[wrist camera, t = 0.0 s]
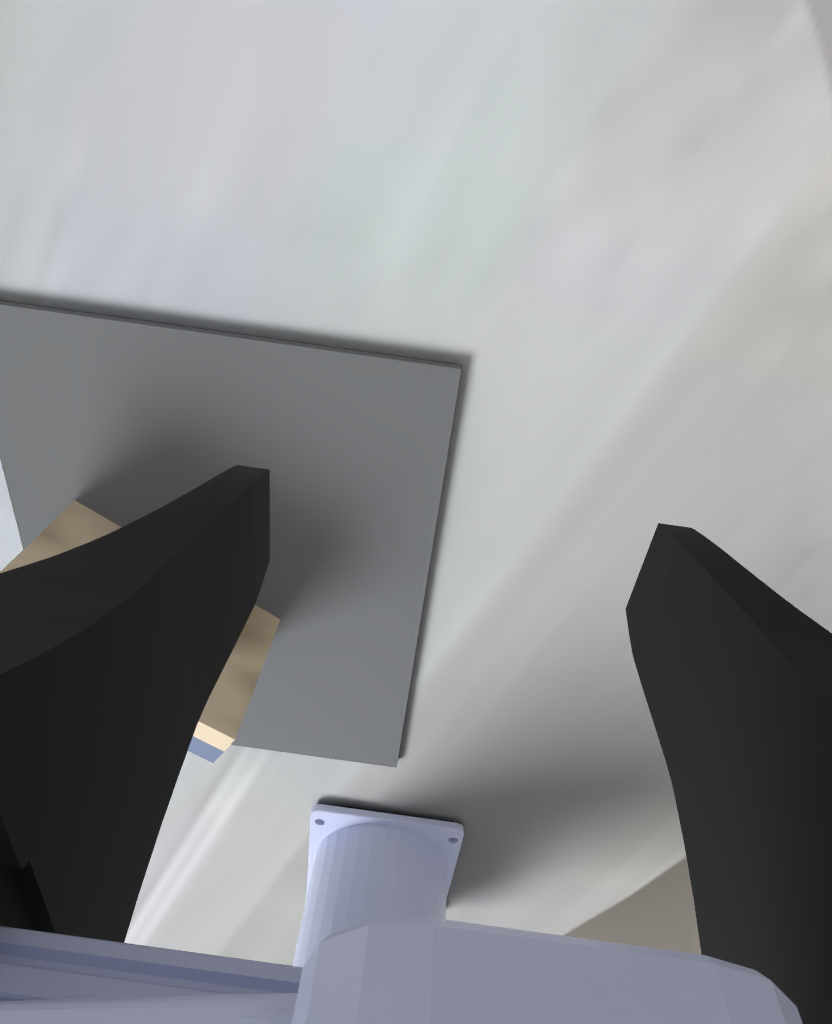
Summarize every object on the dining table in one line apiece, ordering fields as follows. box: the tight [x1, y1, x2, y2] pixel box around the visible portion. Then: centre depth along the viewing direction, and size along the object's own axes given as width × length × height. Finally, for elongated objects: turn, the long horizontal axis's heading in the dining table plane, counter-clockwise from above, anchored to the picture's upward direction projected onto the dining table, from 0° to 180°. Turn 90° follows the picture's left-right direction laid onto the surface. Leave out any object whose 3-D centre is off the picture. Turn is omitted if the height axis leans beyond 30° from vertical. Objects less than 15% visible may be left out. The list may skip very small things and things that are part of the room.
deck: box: [0, 501, 280, 763], centre depth 23 cm, size 9×2×6 cm, turn 53°
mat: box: [0, 301, 462, 767], centre depth 26 cm, size 20×16×1 cm
